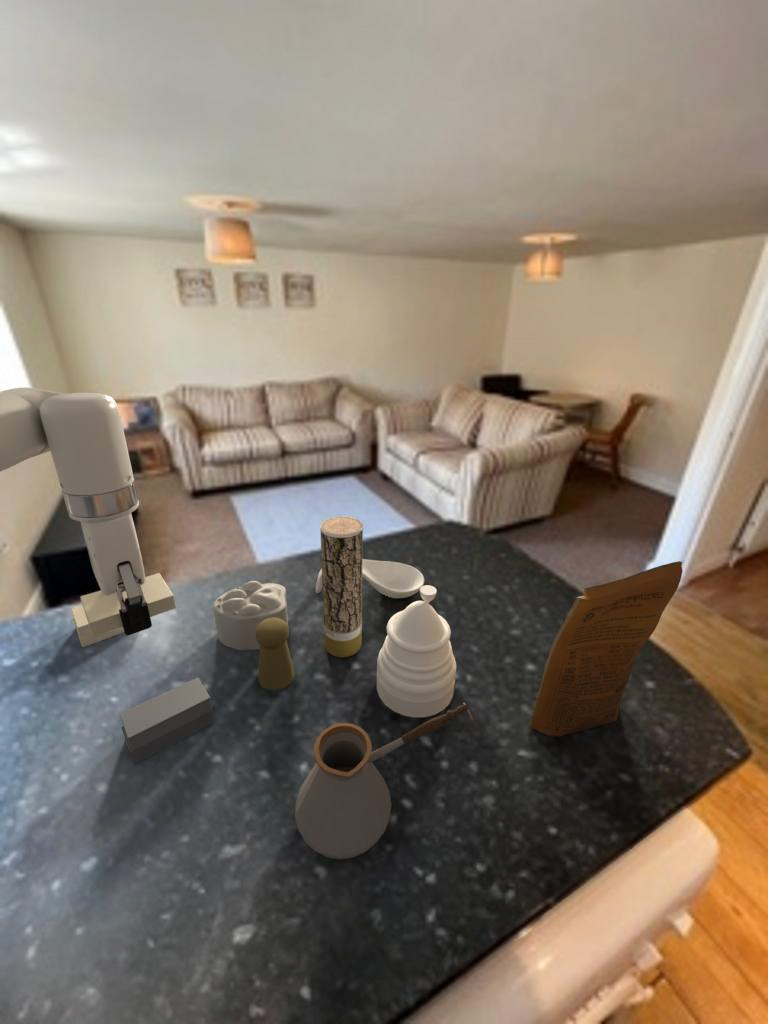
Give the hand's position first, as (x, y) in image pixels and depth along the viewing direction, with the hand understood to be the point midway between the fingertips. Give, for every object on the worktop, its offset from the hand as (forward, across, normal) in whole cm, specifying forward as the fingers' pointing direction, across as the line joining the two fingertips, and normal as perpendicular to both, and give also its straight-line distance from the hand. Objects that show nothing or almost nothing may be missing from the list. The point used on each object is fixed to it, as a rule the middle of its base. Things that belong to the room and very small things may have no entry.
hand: (131, 614), depth 62 cm
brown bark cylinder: (+17, +7, +31) cm, 36 cm away
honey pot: (+17, +22, +35) cm, 45 cm away
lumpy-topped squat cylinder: (+17, -7, +20) cm, 27 cm away
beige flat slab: (-1, 0, 0) cm, 1 cm away
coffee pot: (+17, +34, +18) cm, 42 cm away
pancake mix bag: (+17, +43, +50) cm, 68 cm away
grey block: (+17, +6, +1) cm, 18 cm away
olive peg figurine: (+17, +6, +18) cm, 26 cm away
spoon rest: (+17, -4, +46) cm, 49 cm away
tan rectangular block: (+17, -25, -2) cm, 30 cm away
